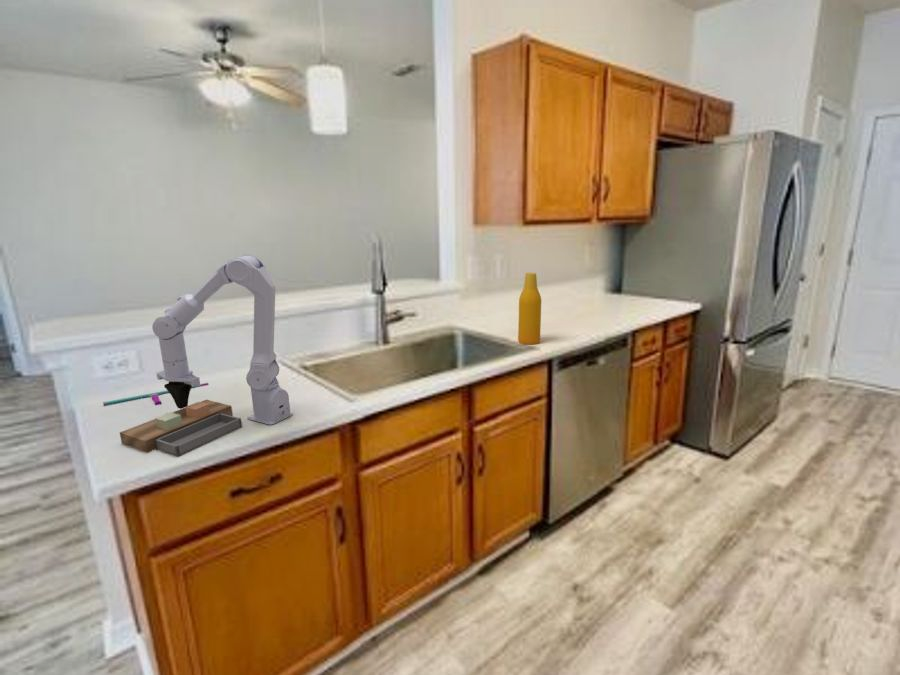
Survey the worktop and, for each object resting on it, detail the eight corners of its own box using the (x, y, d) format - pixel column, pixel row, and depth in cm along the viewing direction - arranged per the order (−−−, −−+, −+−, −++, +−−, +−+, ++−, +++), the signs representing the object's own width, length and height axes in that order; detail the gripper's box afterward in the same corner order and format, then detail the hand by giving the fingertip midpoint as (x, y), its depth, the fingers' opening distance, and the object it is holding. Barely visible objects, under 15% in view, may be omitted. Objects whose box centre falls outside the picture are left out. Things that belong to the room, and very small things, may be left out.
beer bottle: (543, 340, 210) (545, 272, 203) (535, 346, 202) (537, 275, 195) (523, 338, 215) (524, 271, 207) (514, 343, 207) (515, 274, 200)
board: (232, 415, 138) (231, 405, 137) (147, 452, 117) (145, 441, 117) (207, 409, 143) (206, 399, 142) (121, 443, 122) (119, 432, 121)
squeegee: (105, 411, 139) (102, 401, 147) (106, 417, 139) (103, 406, 147) (215, 390, 156) (207, 382, 164) (215, 395, 156) (208, 386, 164)
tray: (241, 427, 130) (240, 418, 130) (178, 456, 115) (176, 446, 114) (221, 421, 134) (219, 412, 134) (156, 449, 119) (154, 439, 118)
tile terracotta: (209, 412, 132) (208, 404, 132) (196, 418, 129) (195, 409, 128) (200, 410, 134) (198, 401, 134) (186, 415, 131) (185, 406, 130)
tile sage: (182, 424, 126) (180, 415, 125) (167, 430, 122) (165, 421, 122) (172, 421, 127) (170, 412, 127) (157, 427, 124) (155, 418, 123)
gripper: (206, 358, 131) (213, 405, 135) (170, 352, 137) (178, 398, 141) (182, 365, 125) (190, 415, 129) (146, 359, 131) (154, 406, 135)
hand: (182, 407), depth 134 cm, fingers closed
